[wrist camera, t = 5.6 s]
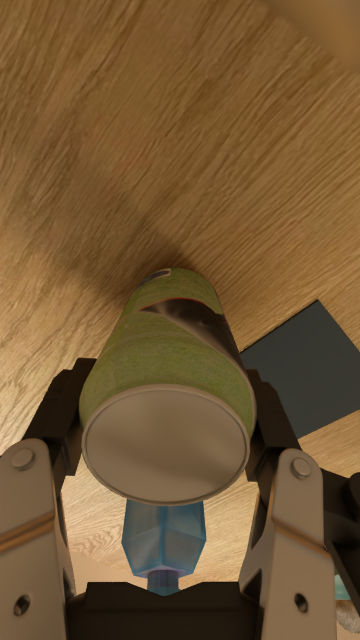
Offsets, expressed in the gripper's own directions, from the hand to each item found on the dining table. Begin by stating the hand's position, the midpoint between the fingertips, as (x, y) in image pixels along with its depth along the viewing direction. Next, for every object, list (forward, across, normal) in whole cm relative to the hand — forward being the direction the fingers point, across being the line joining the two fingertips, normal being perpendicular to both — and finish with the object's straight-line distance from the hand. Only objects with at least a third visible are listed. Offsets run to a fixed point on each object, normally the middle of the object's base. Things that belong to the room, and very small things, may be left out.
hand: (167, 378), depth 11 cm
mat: (+8, -12, +9) cm, 17 cm away
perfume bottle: (+8, -2, +25) cm, 27 cm away
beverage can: (+8, 0, 0) cm, 8 cm away
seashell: (+8, -53, +85) cm, 101 cm away
